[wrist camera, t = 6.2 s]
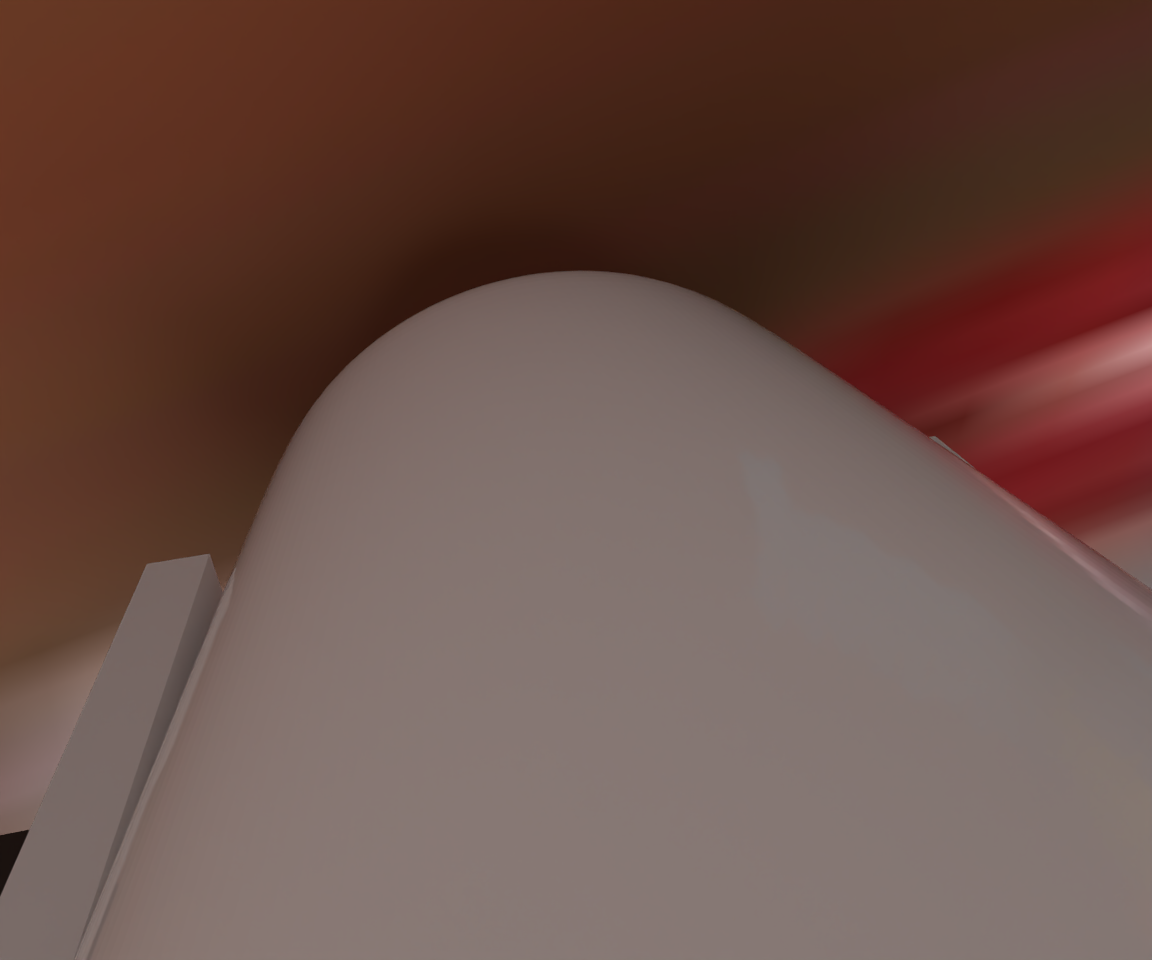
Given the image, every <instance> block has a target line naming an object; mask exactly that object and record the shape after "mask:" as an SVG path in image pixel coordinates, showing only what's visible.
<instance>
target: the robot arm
mask: <svg viewBox="0 0 1152 960" xmlns="http://www.w3.org/2000/svg"><path fill="white" fill-rule="evenodd" d="M930 438H931V439H932V440H934V441H935V442H937V443H938V444H940V445H941V446H943V447H944V448H946V449H947V450H949V451H950V452H952V453H953V454H955V455H956V456H957V457H959V458H960V459H962V460H963V461H965V460H964V459H963V458H962V457H960V456H959V455H958V454H957V453H955V452H954V451H953V450H952V449H950V448H949V447H948V446H947V445H945V444H944V443H943V442H942V441H940V440H939V439H938V438H937V437H935V436H933V437H930ZM965 462H966V463H968V462H967V461H965ZM968 464H969V463H968ZM969 465H970V464H969ZM971 466H972V465H971ZM972 467H973V466H972ZM222 594H223V592H222V589H221V586H220V583H219V580H218V577H217V574H216V571H215V568H214V565H213V562H212V559H211V557H210V554H205V555H199V556H193V557H187V558H181V559H174V560H168V561H162V562H156V563H150V564H147V565H146V567H145V569H144V572H143V574H142V576H141V578H140V581H139V583H138V585H137V587H136V590H135V592H134V594H133V596H132V599H131V601H130V603H129V606H128V608H127V610H126V612H125V615H124V617H123V619H122V621H121V624H120V626H119V628H118V631H117V633H116V635H115V637H114V640H113V642H112V644H111V646H110V649H109V651H108V653H107V655H106V658H105V660H104V662H103V665H102V667H101V669H100V671H99V674H98V676H97V678H96V680H95V683H94V685H93V687H92V689H91V692H90V694H89V696H88V699H87V701H86V703H85V705H84V708H83V710H82V712H81V714H80V717H79V719H78V721H77V723H76V726H75V728H74V730H73V733H72V735H71V737H70V739H69V742H68V744H67V746H66V748H65V751H64V753H63V755H62V757H61V760H60V762H59V764H58V767H57V769H56V771H55V773H54V776H53V778H52V780H51V782H50V785H49V787H48V789H47V791H46V794H45V796H44V798H43V801H42V803H41V805H40V807H39V810H38V812H37V814H36V816H35V819H34V821H33V823H32V825H31V828H30V830H26V831H20V832H15V833H10V834H5V835H0V960H74V959H75V956H76V954H77V952H78V949H79V947H80V944H81V942H82V939H83V937H84V934H85V932H86V929H87V927H88V924H89V922H90V919H91V917H92V914H93V912H94V910H95V907H96V905H97V902H98V900H99V897H100V895H101V892H102V890H103V887H104V885H105V882H106V880H107V877H108V875H109V873H110V870H111V868H112V865H113V863H114V860H115V858H116V855H117V853H118V850H119V848H120V845H121V843H122V840H123V838H124V835H125V833H126V831H127V828H128V826H129V823H130V821H131V818H132V816H133V813H134V811H135V808H136V806H137V803H138V801H139V798H140V796H141V793H142V791H143V789H144V786H145V784H146V781H147V779H148V776H149V774H150V771H151V769H152V766H153V764H154V761H155V759H156V756H157V754H158V751H159V749H160V747H161V744H162V742H163V739H164V737H165V734H166V732H167V729H168V727H169V724H170V722H171V719H172V717H173V714H174V712H175V710H176V707H177V705H178V702H179V700H180V697H181V695H182V692H183V690H184V687H185V685H186V682H187V680H188V677H189V675H190V673H191V670H192V668H193V665H194V663H195V660H196V658H197V655H198V653H199V650H200V648H201V645H202V643H203V641H204V638H205V636H206V633H207V631H208V628H209V626H210V623H211V621H212V618H213V616H214V614H215V611H216V609H217V606H218V604H219V601H220V599H221V596H222Z"/></svg>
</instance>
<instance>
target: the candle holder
mask: <svg viewBox="0 0 1152 960" xmlns="http://www.w3.org/2000/svg"><path fill="white" fill-rule="evenodd" d="M74 960H1152V589H1151V588H1150V587H1148V586H1147V585H1145V584H1144V583H1142V582H1141V581H1139V580H1138V579H1136V578H1135V577H1133V576H1132V575H1130V574H1129V573H1128V572H1126V571H1125V570H1123V569H1122V568H1120V567H1119V566H1117V565H1116V564H1114V563H1113V562H1111V561H1110V560H1108V559H1107V558H1106V557H1104V556H1103V555H1101V554H1100V553H1098V552H1097V551H1095V550H1094V549H1092V548H1091V547H1089V546H1088V545H1086V544H1085V543H1084V542H1082V541H1081V540H1079V539H1078V538H1076V537H1075V536H1073V535H1072V534H1070V533H1069V532H1067V531H1066V530H1064V529H1063V528H1062V527H1060V526H1059V525H1057V524H1056V523H1054V522H1053V521H1051V520H1050V519H1048V518H1047V517H1045V516H1044V515H1042V514H1041V513H1040V512H1038V511H1037V510H1035V509H1034V508H1032V507H1031V506H1029V505H1028V504H1026V503H1025V502H1023V501H1022V500H1021V499H1019V498H1018V497H1016V496H1015V495H1013V494H1012V493H1010V492H1009V491H1007V490H1006V489H1004V488H1003V487H1001V486H1000V485H999V484H997V483H996V482H994V481H993V480H991V479H990V478H988V477H987V476H985V475H984V474H982V473H981V472H979V471H978V470H977V469H975V468H974V467H972V466H971V465H969V464H968V463H966V462H965V461H963V460H962V459H960V458H959V457H957V456H956V455H955V454H953V453H952V452H950V451H949V450H947V449H946V448H944V447H943V446H941V445H940V444H938V443H937V442H935V441H934V440H932V439H931V438H930V437H928V436H927V435H925V434H924V433H922V432H921V431H919V430H918V429H916V428H915V427H913V426H912V425H910V424H909V423H907V422H906V421H905V420H903V419H902V418H900V417H899V416H897V415H896V414H894V413H893V412H891V411H890V410H888V409H887V408H885V407H884V406H882V405H881V404H879V403H878V402H877V401H875V400H874V399H872V398H871V397H869V396H868V395H866V394H865V393H863V392H862V391H860V390H859V389H857V388H856V387H854V386H853V385H851V384H850V383H848V382H847V381H845V380H844V379H842V378H841V377H839V376H838V375H837V374H835V373H834V372H832V371H831V370H829V369H828V368H826V367H825V366H823V365H822V364H820V363H819V362H817V361H816V360H814V359H813V358H811V357H810V356H808V355H807V354H805V353H804V352H802V351H801V350H799V349H797V348H796V347H794V346H793V345H791V344H790V343H788V342H787V341H785V340H784V339H782V338H781V337H779V336H777V335H776V334H774V333H773V332H771V331H770V330H768V329H766V328H765V327H763V326H762V325H760V324H758V323H757V322H755V321H753V320H752V319H750V318H748V317H747V316H745V315H743V314H741V313H739V312H738V311H736V310H734V309H732V308H730V307H728V306H726V305H724V304H722V303H720V302H718V301H716V300H714V299H712V298H710V297H707V296H705V295H703V294H700V293H698V292H695V291H692V290H690V289H687V288H684V287H681V286H678V285H675V284H671V283H668V282H664V281H661V280H657V279H652V278H648V277H643V276H637V275H631V274H624V273H616V272H605V271H558V272H546V273H538V274H531V275H525V276H519V277H514V278H510V279H505V280H501V281H497V282H493V283H490V284H486V285H483V286H480V287H477V288H473V289H471V290H468V291H465V292H462V293H460V294H457V295H455V296H452V297H450V298H447V299H445V300H443V301H441V302H438V303H436V304H434V305H432V306H430V307H428V308H426V309H424V310H422V311H420V312H419V313H417V314H415V315H413V316H411V317H410V318H408V319H406V320H405V321H403V322H402V323H400V324H398V325H397V326H395V327H394V328H392V329H391V330H389V331H388V332H386V333H385V334H384V335H382V336H381V337H380V338H378V339H377V340H376V341H374V342H373V343H372V344H371V345H369V346H368V347H367V348H366V349H364V350H363V351H362V352H361V353H360V354H359V355H358V356H356V357H355V358H354V359H353V360H352V361H351V362H350V363H349V364H348V365H347V366H346V367H345V368H344V369H343V370H342V371H341V372H340V373H339V374H338V375H337V376H336V377H335V378H334V379H333V380H332V382H331V383H330V384H329V385H328V386H327V387H326V389H325V390H324V391H323V392H322V393H321V395H320V396H319V397H318V399H317V400H316V401H315V403H314V404H313V405H312V407H311V408H310V409H309V411H308V412H307V414H306V415H305V417H304V418H303V420H302V421H301V423H300V425H299V426H298V428H297V429H296V431H295V433H294V435H293V436H292V438H291V440H290V442H289V443H288V445H287V447H286V449H285V451H284V453H283V455H282V457H281V459H280V461H279V463H278V465H277V467H276V469H275V471H274V474H273V476H272V478H271V480H270V482H269V485H268V487H267V489H266V491H265V494H264V496H263V498H262V501H261V503H260V505H259V508H258V510H257V512H256V515H255V517H254V519H253V522H252V524H251V526H250V529H249V531H248V533H247V536H246V538H245V541H244V543H243V545H242V548H241V550H240V553H239V555H238V558H237V560H236V562H235V565H234V567H233V570H232V572H231V574H230V577H229V579H228V582H227V584H226V587H225V589H224V592H223V594H222V596H221V599H220V601H219V604H218V606H217V609H216V611H215V614H214V616H213V618H212V621H211V623H210V626H209V628H208V631H207V633H206V636H205V638H204V641H203V643H202V645H201V648H200V650H199V653H198V655H197V658H196V660H195V663H194V665H193V668H192V670H191V673H190V675H189V677H188V680H187V682H186V685H185V687H184V690H183V692H182V695H181V697H180V700H179V702H178V705H177V707H176V710H175V712H174V714H173V717H172V719H171V722H170V724H169V727H168V729H167V732H166V734H165V737H164V739H163V742H162V744H161V747H160V749H159V751H158V754H157V756H156V759H155V761H154V764H153V766H152V769H151V771H150V774H149V776H148V779H147V781H146V784H145V786H144V789H143V791H142V793H141V796H140V798H139V801H138V803H137V806H136V808H135V811H134V813H133V816H132V818H131V821H130V823H129V826H128V828H127V831H126V833H125V835H124V838H123V840H122V843H121V845H120V848H119V850H118V853H117V855H116V858H115V860H114V863H113V865H112V868H111V870H110V873H109V875H108V877H107V880H106V882H105V885H104V887H103V890H102V892H101V895H100V897H99V900H98V902H97V905H96V907H95V910H94V912H93V914H92V917H91V919H90V922H89V924H88V927H87V929H86V932H85V934H84V937H83V939H82V942H81V944H80V947H79V949H78V952H77V954H76V956H75V959H74Z"/></svg>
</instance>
